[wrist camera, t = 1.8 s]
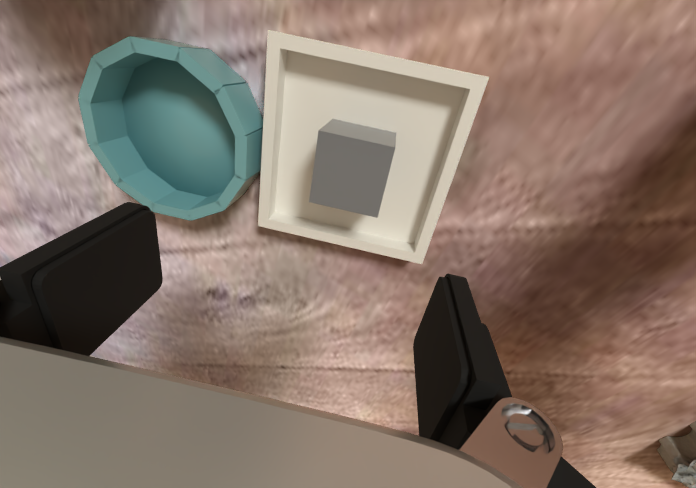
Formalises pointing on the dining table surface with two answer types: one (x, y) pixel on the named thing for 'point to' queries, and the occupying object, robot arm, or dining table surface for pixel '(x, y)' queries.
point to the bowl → (172, 125)
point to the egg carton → (681, 456)
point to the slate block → (351, 167)
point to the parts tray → (369, 110)
